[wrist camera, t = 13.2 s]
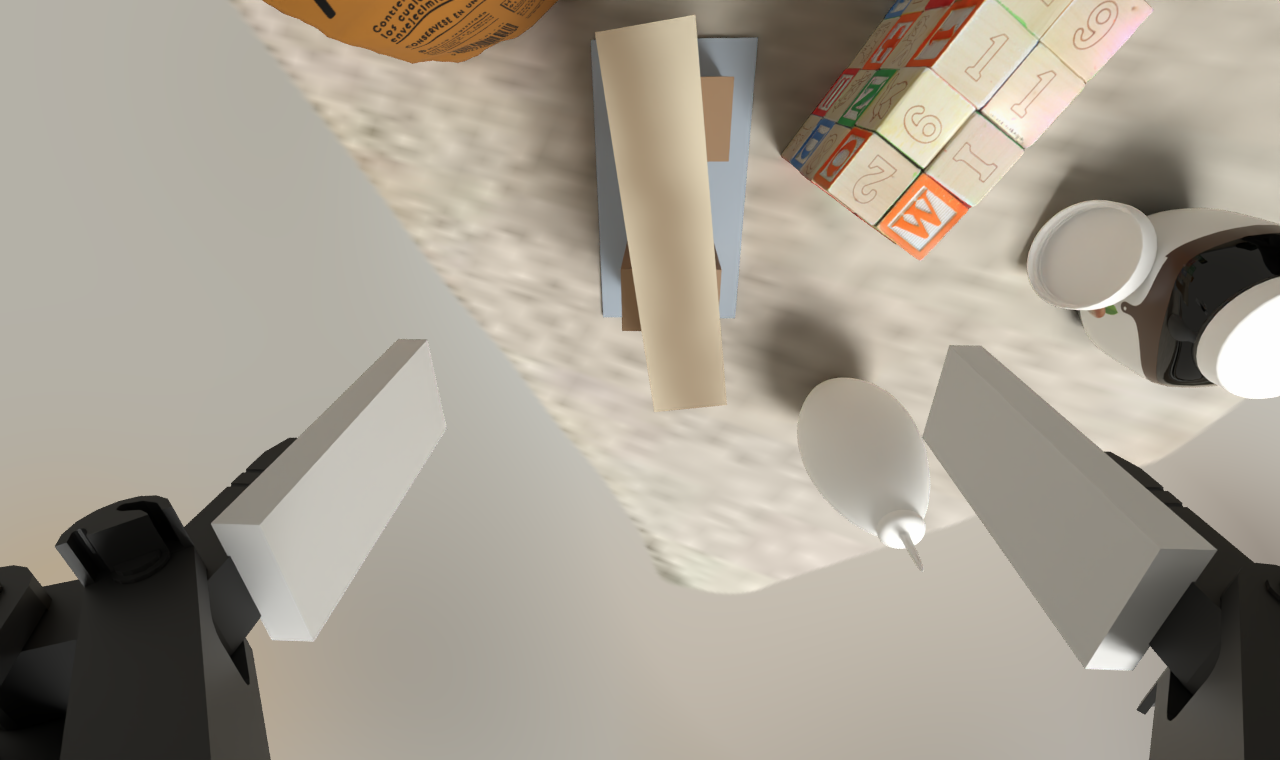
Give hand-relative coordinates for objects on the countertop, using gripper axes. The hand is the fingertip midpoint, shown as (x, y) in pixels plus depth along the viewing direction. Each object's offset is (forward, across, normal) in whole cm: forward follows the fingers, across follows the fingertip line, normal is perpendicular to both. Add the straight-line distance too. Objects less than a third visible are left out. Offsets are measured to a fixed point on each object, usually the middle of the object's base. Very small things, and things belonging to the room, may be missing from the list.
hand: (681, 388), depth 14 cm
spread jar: (+27, -30, +5) cm, 41 cm away
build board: (+27, 0, 0) cm, 27 cm away
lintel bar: (+19, 0, 0) cm, 19 cm away
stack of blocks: (+27, -15, -10) cm, 33 cm away
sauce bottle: (+27, -13, +16) cm, 34 cm away
